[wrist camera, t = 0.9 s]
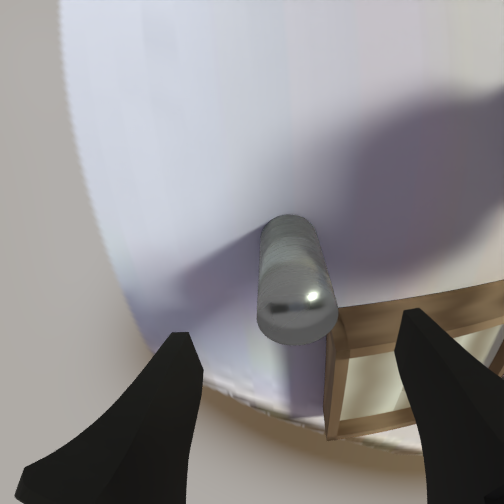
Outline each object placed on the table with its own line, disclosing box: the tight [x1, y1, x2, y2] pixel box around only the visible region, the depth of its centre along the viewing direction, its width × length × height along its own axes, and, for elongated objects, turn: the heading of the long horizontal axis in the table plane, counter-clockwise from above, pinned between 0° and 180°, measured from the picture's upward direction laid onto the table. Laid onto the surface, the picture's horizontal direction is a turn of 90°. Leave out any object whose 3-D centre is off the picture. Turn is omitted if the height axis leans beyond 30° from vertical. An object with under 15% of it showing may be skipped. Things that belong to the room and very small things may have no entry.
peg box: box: [323, 280, 504, 441], centre depth 19 cm, size 16×12×4 cm
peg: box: [257, 214, 338, 346], centre depth 13 cm, size 3×3×6 cm
